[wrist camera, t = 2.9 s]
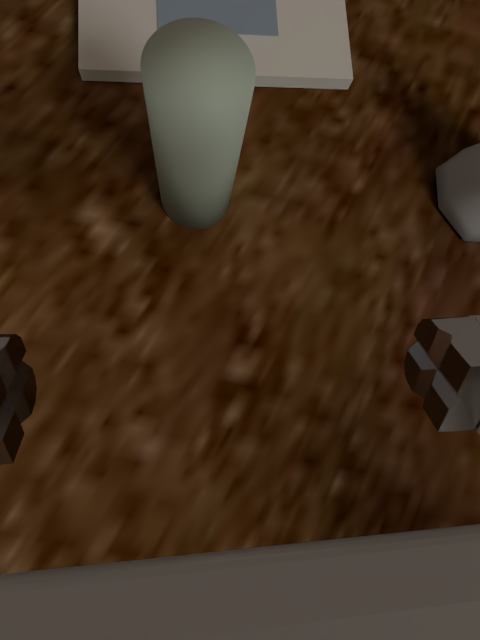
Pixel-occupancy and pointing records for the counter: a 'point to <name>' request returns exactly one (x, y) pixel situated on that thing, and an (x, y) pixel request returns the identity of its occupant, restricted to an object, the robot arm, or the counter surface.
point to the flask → (461, 192)
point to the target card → (237, 14)
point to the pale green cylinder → (196, 115)
